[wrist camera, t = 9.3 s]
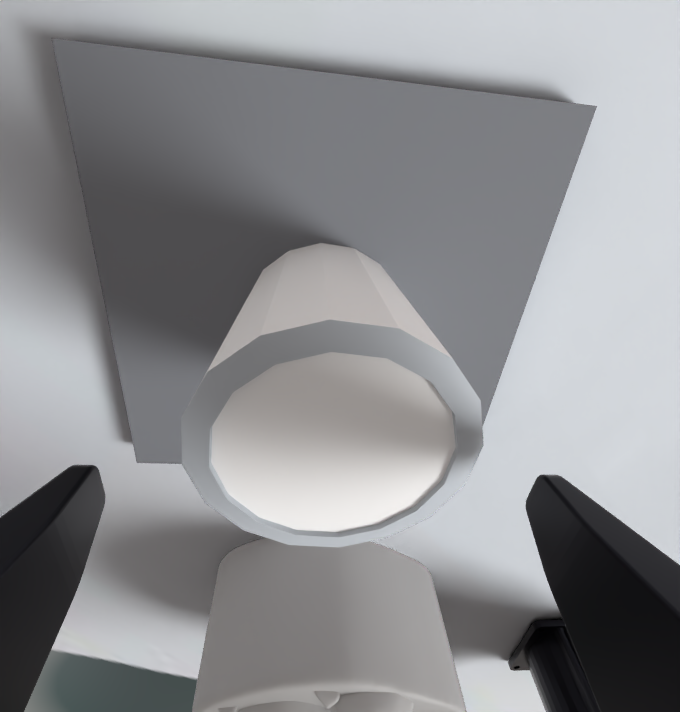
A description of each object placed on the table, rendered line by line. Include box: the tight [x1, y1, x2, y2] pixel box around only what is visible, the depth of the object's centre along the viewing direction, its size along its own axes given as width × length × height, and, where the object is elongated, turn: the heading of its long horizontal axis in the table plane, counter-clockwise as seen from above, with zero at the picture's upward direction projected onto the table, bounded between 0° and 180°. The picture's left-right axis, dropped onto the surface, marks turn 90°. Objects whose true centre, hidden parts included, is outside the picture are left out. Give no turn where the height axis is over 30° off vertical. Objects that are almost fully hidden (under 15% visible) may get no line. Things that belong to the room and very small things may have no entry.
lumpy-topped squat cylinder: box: [192, 538, 466, 712], centre depth 23 cm, size 10×13×9 cm
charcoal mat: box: [52, 38, 597, 464], centre depth 16 cm, size 15×15×1 cm
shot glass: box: [181, 243, 483, 547], centre depth 13 cm, size 7×7×7 cm
